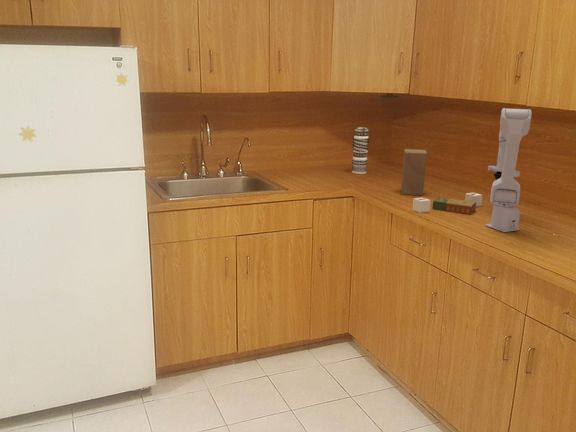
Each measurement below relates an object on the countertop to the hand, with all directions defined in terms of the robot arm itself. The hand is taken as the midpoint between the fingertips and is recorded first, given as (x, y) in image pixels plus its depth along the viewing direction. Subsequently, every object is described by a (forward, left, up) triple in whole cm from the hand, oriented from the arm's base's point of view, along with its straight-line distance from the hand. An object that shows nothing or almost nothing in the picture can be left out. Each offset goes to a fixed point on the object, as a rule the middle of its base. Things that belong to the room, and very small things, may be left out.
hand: (500, 190), depth 221 cm
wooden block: (+43, +10, -10) cm, 45 cm away
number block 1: (+15, +28, -10) cm, 33 cm away
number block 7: (+14, 0, -10) cm, 17 cm away
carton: (+11, +14, -10) cm, 20 cm away
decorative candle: (+95, +5, -10) cm, 96 cm away
